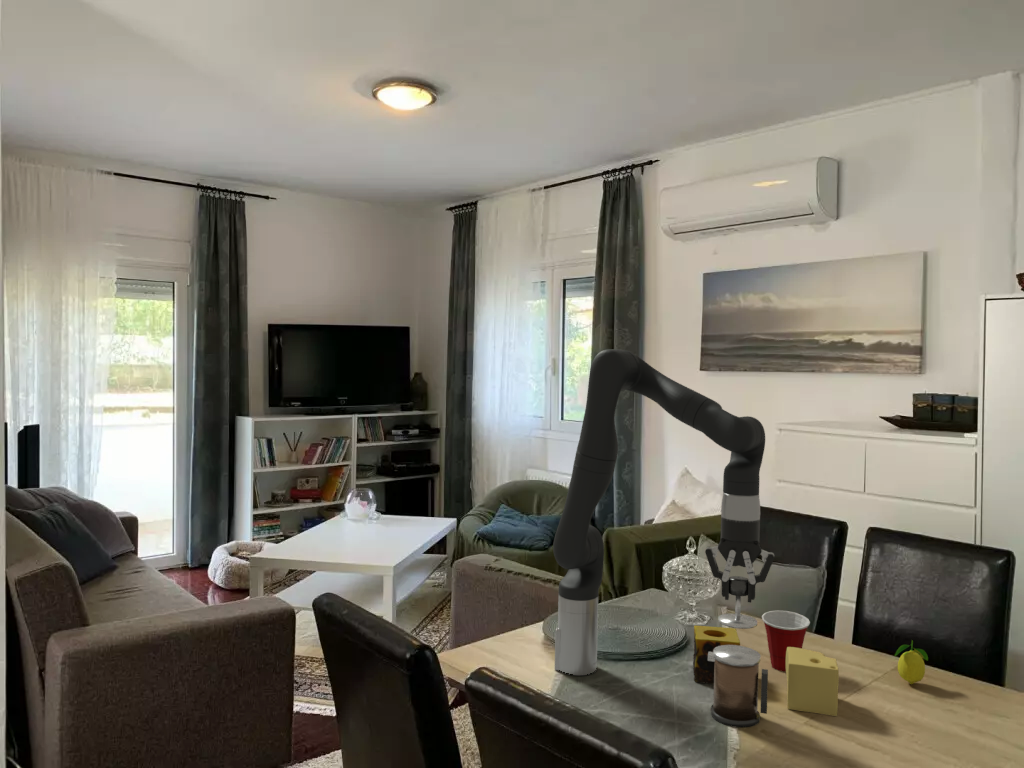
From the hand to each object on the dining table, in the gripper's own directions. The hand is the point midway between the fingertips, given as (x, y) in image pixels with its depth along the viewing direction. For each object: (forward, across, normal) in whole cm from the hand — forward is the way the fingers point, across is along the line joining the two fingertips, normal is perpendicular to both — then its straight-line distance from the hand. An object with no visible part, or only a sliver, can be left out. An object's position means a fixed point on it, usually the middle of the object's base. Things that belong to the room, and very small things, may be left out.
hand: (738, 599), depth 159 cm
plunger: (+5, 0, 0) cm, 5 cm away
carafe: (+24, 0, 0) cm, 24 cm away
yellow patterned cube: (+24, -5, +20) cm, 32 cm away
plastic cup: (+24, +10, +31) cm, 41 cm away
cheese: (+24, +15, +12) cm, 31 cm away
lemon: (+24, +37, +31) cm, 54 cm away
